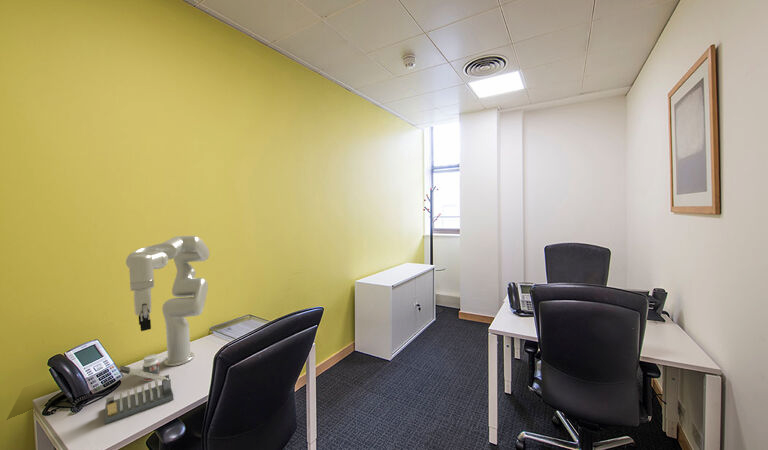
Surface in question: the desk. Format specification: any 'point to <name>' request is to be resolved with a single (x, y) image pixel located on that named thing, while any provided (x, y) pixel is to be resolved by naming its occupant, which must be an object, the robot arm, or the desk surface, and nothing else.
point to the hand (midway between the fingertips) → (144, 326)
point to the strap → (141, 373)
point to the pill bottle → (151, 366)
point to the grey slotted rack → (138, 401)
